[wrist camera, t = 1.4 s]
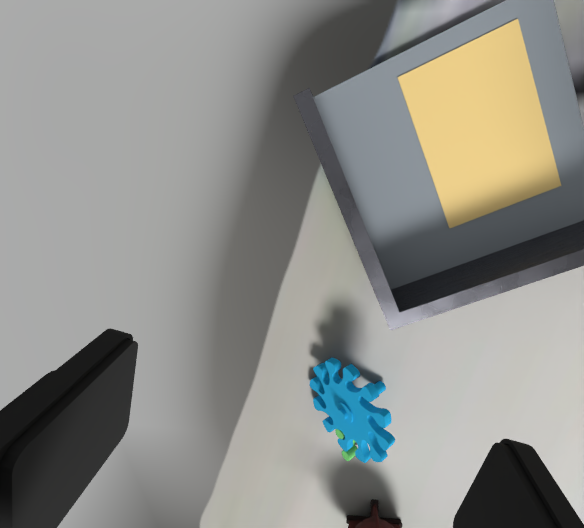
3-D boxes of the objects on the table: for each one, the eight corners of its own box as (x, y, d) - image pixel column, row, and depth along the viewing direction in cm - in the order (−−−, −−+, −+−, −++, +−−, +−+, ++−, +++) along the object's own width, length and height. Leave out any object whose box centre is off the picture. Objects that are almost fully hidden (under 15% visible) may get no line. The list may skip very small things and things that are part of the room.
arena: (544, -19, 27) (595, -59, 21) (602, 225, 31) (656, 240, 26) (300, 104, 31) (293, 95, 26) (382, 303, 35) (390, 330, 30)
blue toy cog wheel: (306, 344, 36) (390, 408, 29) (348, 322, 39) (433, 374, 32) (304, 426, 40) (376, 498, 33) (342, 400, 44) (415, 461, 37)
